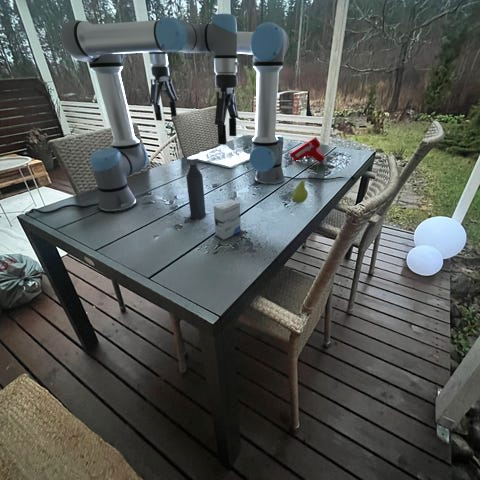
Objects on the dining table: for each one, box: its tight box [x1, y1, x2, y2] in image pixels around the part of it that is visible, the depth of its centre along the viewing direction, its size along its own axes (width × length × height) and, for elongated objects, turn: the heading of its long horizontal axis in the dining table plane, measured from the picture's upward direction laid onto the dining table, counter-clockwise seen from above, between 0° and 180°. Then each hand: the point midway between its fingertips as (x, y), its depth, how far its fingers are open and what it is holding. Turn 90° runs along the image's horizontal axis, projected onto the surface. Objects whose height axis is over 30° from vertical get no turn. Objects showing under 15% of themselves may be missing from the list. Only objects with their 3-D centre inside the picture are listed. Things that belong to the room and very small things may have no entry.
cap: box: [186, 155, 199, 166], centre depth 99 cm, size 4×4×2 cm
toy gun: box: [289, 136, 326, 164], centre depth 169 cm, size 18×4×15 cm
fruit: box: [291, 174, 311, 204], centre depth 118 cm, size 7×8×12 cm
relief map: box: [189, 144, 250, 169], centre depth 179 cm, size 27×35×5 cm
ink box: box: [213, 198, 242, 240], centre depth 96 cm, size 8×5×12 cm, turn 135°
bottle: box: [185, 164, 207, 220], centre depth 105 cm, size 6×6×23 cm
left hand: (227, 139), depth 102 cm, fingers open, 13 cm apart
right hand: (167, 118), depth 131 cm, fingers open, 13 cm apart
